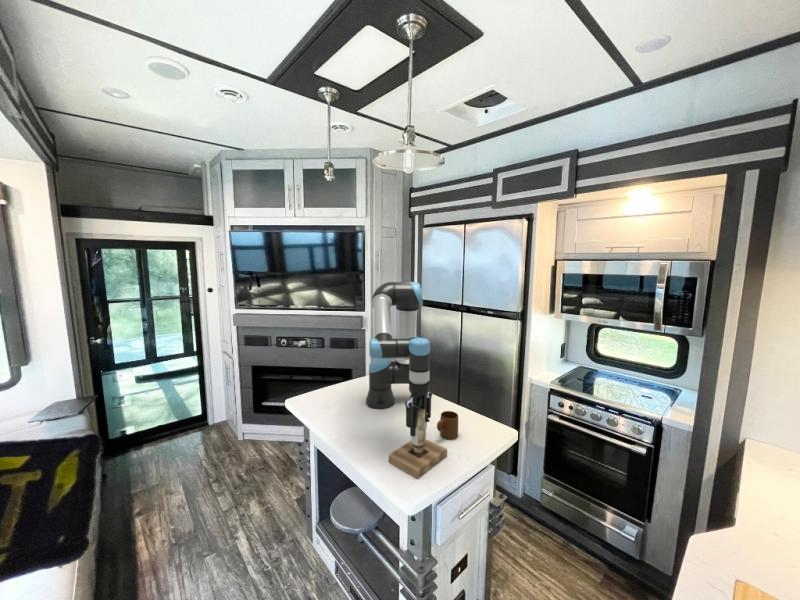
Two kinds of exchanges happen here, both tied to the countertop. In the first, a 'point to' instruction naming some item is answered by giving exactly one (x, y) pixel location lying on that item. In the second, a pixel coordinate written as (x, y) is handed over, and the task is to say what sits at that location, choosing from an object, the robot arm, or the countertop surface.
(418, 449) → the leg
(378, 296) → the robot arm
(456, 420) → the mug
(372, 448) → the countertop surface
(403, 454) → the board
